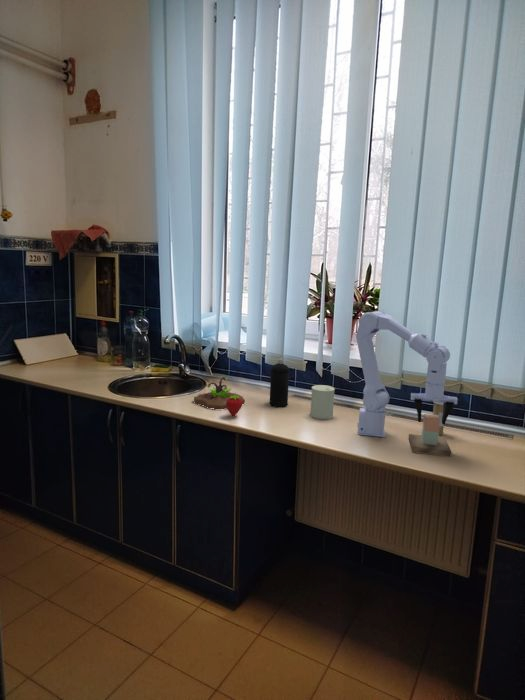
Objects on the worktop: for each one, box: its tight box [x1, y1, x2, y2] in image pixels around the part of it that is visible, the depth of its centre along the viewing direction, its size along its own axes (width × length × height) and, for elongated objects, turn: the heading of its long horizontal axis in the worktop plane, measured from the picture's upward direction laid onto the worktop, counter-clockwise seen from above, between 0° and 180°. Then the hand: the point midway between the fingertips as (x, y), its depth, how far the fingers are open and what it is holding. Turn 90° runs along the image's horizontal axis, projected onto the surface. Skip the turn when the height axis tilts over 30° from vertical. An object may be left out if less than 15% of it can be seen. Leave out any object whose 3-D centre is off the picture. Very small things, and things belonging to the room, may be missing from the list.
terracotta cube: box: [422, 413, 440, 432], centre depth 159 cm, size 4×4×4 cm
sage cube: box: [421, 426, 439, 445], centre depth 160 cm, size 4×4×4 cm
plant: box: [193, 376, 246, 410], centre depth 203 cm, size 20×20×11 cm
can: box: [309, 384, 336, 420], centre depth 190 cm, size 9×9×12 cm
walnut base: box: [407, 433, 452, 457], centre depth 161 cm, size 12×12×2 cm
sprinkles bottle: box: [432, 402, 445, 436], centre depth 174 cm, size 5×5×13 cm
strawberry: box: [226, 395, 243, 417], centre depth 185 cm, size 6×8×10 cm
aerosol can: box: [268, 357, 291, 408], centre depth 201 cm, size 8×8×20 cm
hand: (431, 422), depth 160 cm, fingers open, 7 cm apart
